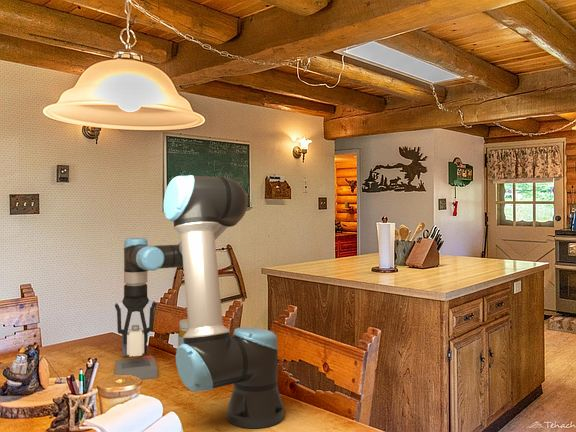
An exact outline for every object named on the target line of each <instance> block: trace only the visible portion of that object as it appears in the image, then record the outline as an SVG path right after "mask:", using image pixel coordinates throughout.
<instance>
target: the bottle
mask: <svg viewBox="0 0 576 432" xmlns="http://www.w3.org/2000/svg"><path fill="white" fill-rule="evenodd" d="M188 329H189V327H188V318H183V319H180V320H179V331H178V335H177V336H178V340H177V344H178V345H177V346H178V347H179V346H181V345H182V344H184V342H183V336H184V335H185V333H186V332H187V331H188ZM178 347H177V348H178Z"/></svg>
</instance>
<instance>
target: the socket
mask: <svg viewBox="0 0 576 432" xmlns="http://www.w3.org/2000/svg"><path fill="white" fill-rule="evenodd" d="M114 372H115V373H114V375H132V376H136V377H139V378H141V380H149V379H157V378H158V367H157V363H156V360H155V356H153V355H152V354H151V355H142V357H137V358H135V357H134V358H127V359H125V358H124V359H116V360H115V361H114Z"/></svg>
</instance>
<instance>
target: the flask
mask: <svg viewBox="0 0 576 432" xmlns="http://www.w3.org/2000/svg"><path fill="white" fill-rule="evenodd" d="M142 332H144V330H143V329H142ZM127 333H129V331H128V332H127ZM147 343H148V342H147ZM147 343H144V353H143V354H142V356H145V355H147V353H148V352H147V351H148V349H147V348H148V347H147V345H148V344H147ZM144 354H145V355H144ZM121 356H122V359H123V358H124V359H125V358H131V357H132V356H131V357H129V355H127V344H124V343H123V334H121Z"/></svg>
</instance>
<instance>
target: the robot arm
mask: <svg viewBox="0 0 576 432" xmlns="http://www.w3.org/2000/svg"><path fill="white" fill-rule="evenodd" d="M247 210H248V196H247V193H246V190H245V189H244V188H243V186H242V185H241V184H240V183H239V182H237V181H236V180H234V179H232V178H229V177H225V176H224V177H223V176H221V177H220V176H205V175H192V174H189V175H177V176H175V177H173V178H172V179H171V180H170V181H169V182H168V185H167V186H166V190H165V193H164V198H163V214H164V216H165V218H166V220H168V221H169V222H173V229H174V230H175V231H176V232H177V233H178V234H179V235H180V240H181V241H179V243H177V244H166V245H165V244H164V245H163V244H161V245H149V243H148V239H147V238H145V237H128V238H127V237H126V238H125V240H124V244H123V245H124V246H123V264H124V265H123V283H124V285H123V299H122V301H120V302H116V303H115V304H114V308H115V310H116V319H117V321H116V323H117V326H116V327H117V333H118V334H119V335H122V334H123V343H124V344H127V355H129V333H127V332H129V329H130V328H129V327H130V323H131V322H130V321H131V318H132V314H133V313H135V312H137V313H139V315H140V322H141V325H142V330H144V332H142V354H143V353H144V343H148V334H149V333H150V332H153V331H154V323H155V322H154V321H155V320H154V318H155V308H156V306H157V302H156V301H155V300H150V299H149V297H148V284H147V282H148V271H151V272H152V271H157V270H159V269H171V268H173V269H174V268H175V269H176V268H183V277H184V287H185V288H184V289H185V300H186V301H185V303H186V313H187V319H188V327H189V329H188V331H187V332H186V333H185V335H184V336H183V342H184V344H182V345H181V346H179V347H177V348H176V351H175V352H176V353H175V365H176V370H177V372H178V376H179V378H180V380H181V382H182V383H183V386H185V387H186V388H187V389H188V390H189V391H191V392H194V393H195V392H197V393H198V392H203V391H209V392H210V391H211V390H213V389H217V388H222V387H225V386H230V385H233V389H232V392H231V395H230V398H229V401H228V404H227V408H226V420H227V421H228V422H229V423H230V424H232V425H234V426H236V427H239V428H246V429H263V428H268V427H272V426H275V425H277V424H279V423H280V422H281V421H283V419H284V417H285V415H284V414H285V408H284V404H283V401H282V398H281V395H280V391H279V388H278V357H279V356H278V353H279V352H278V351H279V345H278V336H277V334H276V333H275V332H273V331H271V330H268V329H263V328H259V327H236V328H235V329H234V330H233V332H232V335H233V336H232V335H231V332H230V329H229V328H227V326H225V325H224V322H223V321H224V320H223V312H222V300H221V291H220V280H219V279H220V278H219V269H218V257H217V249H216V240H217V239H218V238H219V237H220V236H222V234H223V233H224V232H225V231H226V230H227V229H228V228H231V227H234V226H236V225H237V224H238V223H239V222H240V221H241V220H242V219H243V217H244V216H245V214H246V212H247ZM147 305H148V307H149V321H148V326H147V322H146V318H145V312H144V309H145V308H146V307H147ZM123 306H124V307H125V309H127V314H126V318H125V323H124V327H123V328H122V312H121V310H122V309H123Z"/></svg>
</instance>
